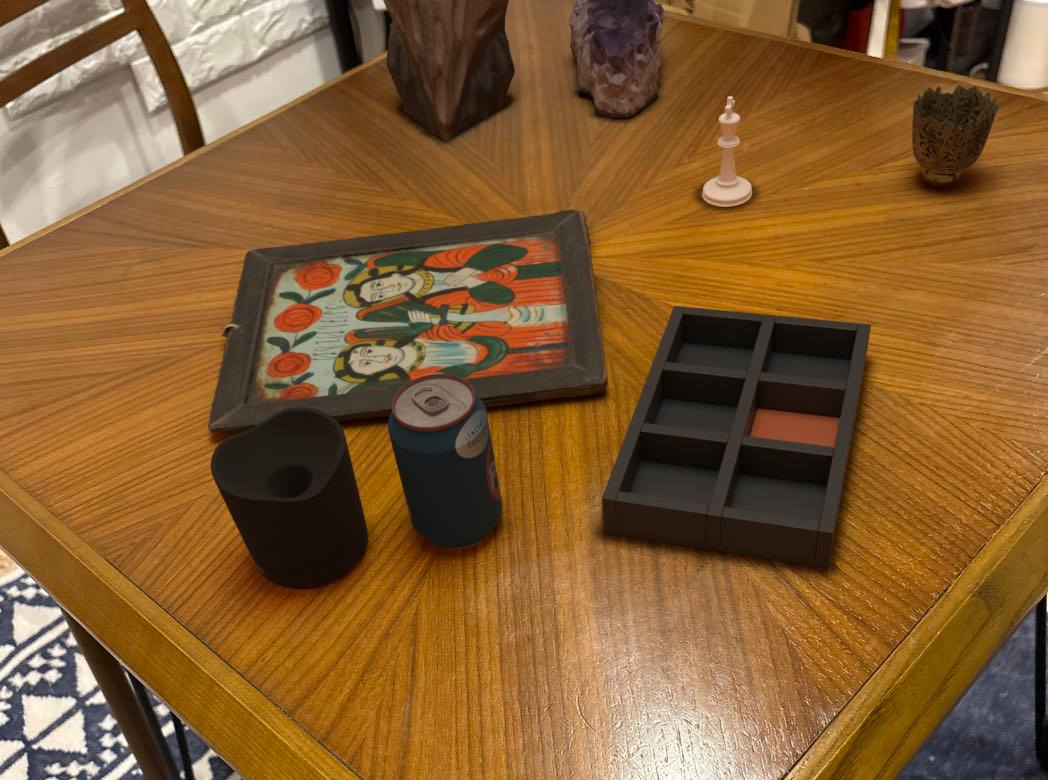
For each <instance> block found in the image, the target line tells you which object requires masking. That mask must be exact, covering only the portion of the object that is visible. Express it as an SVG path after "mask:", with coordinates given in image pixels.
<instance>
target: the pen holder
mask: <svg viewBox="0 0 1048 780" xmlns="http://www.w3.org/2000/svg"><path fill="white" fill-rule="evenodd" d="M210 473H211V475H212V479H213V481H214V482H215V485H216V487H217V489H218V491H219V493H220V496H221V497H222V500H223V501H224V503H225V506H226V508H227V510H228V512H229V515H230V516H231V518H232V520H233V522H234V524H235V526H236V529H237V531H238V533H239V535H240V537H241V539H242V541H243V543H244V545H245V547H246V549H247V551H248V552H249V555H250V557H251V558H252V561H253V562H254V564H255V566H256V568H257V570H258V571H259V574H261V575H262V577H264V578H265V579H266V580H267V581H268V582H270V583H272V584H274V585H276V586H279V587H281V588H285V589H289V590H298V591H299V590H302V591H305V590H313V589H317V588H318V589H319V588H321V587H325V586H327V585H330V584H332V583H334V582H336V581H338V580H340V579H341V578H342V579H343V577H345V576H346V575H348V574H349V573H350V572H351V571H352V570H353V569H354V568H355V567H356V566H357V565H358V564H359V563H360V561H361V560H362V557H363V556H364V554H365V553H366V550H367V547H368V544H369V543H368V541H369V534H368V527H367V521H366V516H365V511H364V507H363V504H362V499H361V494H360V491H359V486H358V483H357V478H356V474H355V470H354V466H353V462H352V458H351V454H350V450H349V446H348V441H347V437H346V434H345V430H344V428H343V427H342V425H341V423H339V421H337V420H335V419H334V418H333V417H332V416H330V415H328V414H327V413H324V412H322V411H319V410H316V409H311V408H304V407H296V408H289V409H285V410H282V411H280V412H278V413H276V414H274V415H272V416H271V417H269V418H268V419H266V420H265V421H263V422H261V423H260V424H258V425H257V426H255V427H253V428H251V429H249V430H246V431H244V432H237V433H235V434H233V435H231V436H228V437H227V438H225V439H223V440H222V441H221V442H220V443H219V444H218V445H217V446H216V447H215V448H214V450H213V453H212V456H211V459H210Z"/></svg>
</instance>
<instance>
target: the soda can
mask: <svg viewBox="0 0 1048 780" xmlns="http://www.w3.org/2000/svg"><path fill="white" fill-rule="evenodd" d="M488 417H489V416H488V411H487V407H485V405H484V403H483V402H482V400H481V399H480V398H479V397H478V396H477V395H476V394H475V392H474V389H473V387H472V386H471V385H470V383H468V382H467V381H466V380H464V379H463V378H460V377H458V376H455V375H450V374H431V375H426V376H422V377H419V378H416V379H414V380H412V381H410V382H408V383H407V384H405V385H404V386H403V387H401V388H400V389H399V390H398V392H397V393H396V394H395V396H394V398H393V401H392V412H391V415H390V416H389V418H388V422H387V432H388V435H389V436H388V437H389V438H390V440H389V441H390V443H391V448H392V452H393V455H394V460H395V463H396V468H397V471H398V475H399V480H400V482H401V487H402V491H403V495H404V498H405V503H406V507H407V510H408V514H409V518H410V523H411V525H412V527H413V529H414V531H416V533H417V534H418V535H419V536H421V537H422V538H423V539H425V540H426V541H427V542H429V543H430V544H432V545H434V546H436V547H438V548H441V549H444V550H445V549H446V550H462V549H468V548H471V547H473V546H475V545H477V544H479V543H481V542H482V541H484V540H485V539H486V538H487V537H489V536H490V534H491V533H492V531H493V530H494V529H495V527H496V526H497V524H498V523H499V521H500V518H501V515H502V511H503V500H502V499H503V498H502V494H501V489H500V482H499V476H498V470H497V465H496V458H495V453H494V447H493V441H492V434H491V430H490V424H489V418H488Z"/></svg>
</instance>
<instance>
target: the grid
mask: <svg viewBox="0 0 1048 780" xmlns="http://www.w3.org/2000/svg"><path fill="white" fill-rule="evenodd" d="M871 329H872V324H870V323H862V322H859V323H858V322H850V321H839V320H829V319H819V318H810V317H809V318H808V317H807V318H806V317H798V316H797V317H796V316H787V315H776V314H766V313H765V314H764V313H756V312H747V311H737V310H736V311H735V310H724V309H714V308H703V307H692V306H681V305H674V306H673V307H672V310H671V313H670V315H669V318H668V321H667V324H666V326H665V329H664V331H663V335H662V337H661V340H660V343H659V345H658V348H657V350H656V353H655V355H654V359H653V361H652V364H651V366H650V369H649V371H648V374H647V377H646V379H645V382H644V385H643V388H642V390H641V392H640V396H639V399H638V401H637V404H636V406H635V408H634V411H633V414H632V416H631V418H630V419H631V420H630V422H629V424H628V427H627V431H626V433H625V436H624V438H623V440H622V444H621V445H620V449H619V451H618V455H617V457H616V460H615V462H614V465H613V468H612V471H611V473H610V476H609V479H608V481H607V483H606V486H605V489H604V491H603V494H602V497H601V507H602V518H603V519H602V520H603V521H602V522H603V532H604V534H610V535H616V536H623V537H629V538H633V539H634V538H635V539H641V540H648V541H654V542H661V543H665V544H672V545H679V546H685V547H691V548H698V549H705V550H710V551H716V552H722V553H728V554H734V555H741V556H747V557H754V558H761V559H766V560H772V561H778V562H779V561H780V562H786V563H793V564H797V565H804V566H811V567H818V568H823V569H829V567H830V562H831V556H832V550H833V544H834V539H835V533H836V529H837V528H836V527H837V523H838V516H839V513H840V512H839V511H840V505H841V502H842V501H841V500H842V496H843V489H844V483H845V478H846V473H847V467H848V462H849V457H850V450H851V445H852V440H853V434H854V428H855V422H856V418H857V412H858V406H859V401H860V395H861V389H862V385H863V378H864V372H865V367H866V362H867V356H868V355H867V354H868V349H869V342H870V336H871V335H870V334H871Z"/></svg>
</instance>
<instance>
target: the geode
mask: <svg viewBox="0 0 1048 780" xmlns="http://www.w3.org/2000/svg"><path fill="white" fill-rule="evenodd" d="M664 13H665V9H664V8H663V5H662V4H661V3H656V2H655V1H654V0H575V3H574V5H573V7H572V9H571V12H570V15H569V16H568V25H569V28H570V34H571V35H570V44H569V47H570V50H571V55H572V56H573V57H574V58H575V60H576V75H577V91H578V92H580V93H583V94H587V95H590V96H591V98H592V99H593V103H594V104H593V105H594V109H595V112H596V113H597V115H599V116H604V117H607V118H612V119H628V118H632V117H633V116H635V115H636V114H638V113H640V112H641V111H642V110H645V109H646V108H647V106H648V105H649V104H651V103H652V102H653V101H654V100H655V99H656V98H657V96H658V86H659V69H660V67H661V57H660V52H661V41H662V40H661V34H662V29H663V23H664Z"/></svg>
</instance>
